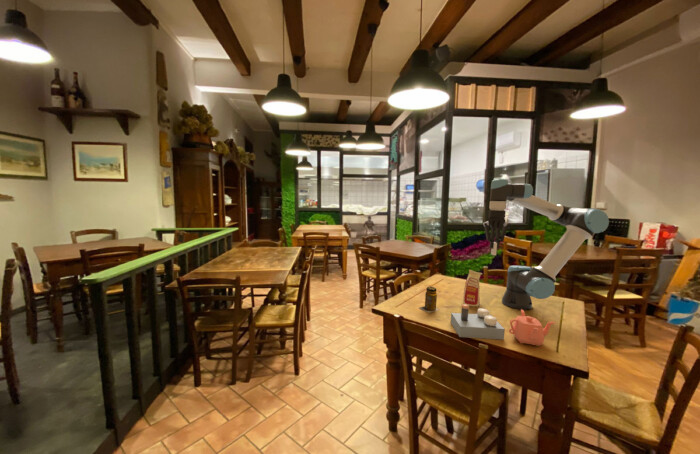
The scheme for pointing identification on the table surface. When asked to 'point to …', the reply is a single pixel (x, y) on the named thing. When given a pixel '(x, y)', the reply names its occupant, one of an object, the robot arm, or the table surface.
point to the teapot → (529, 329)
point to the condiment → (430, 300)
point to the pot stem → (464, 312)
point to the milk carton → (472, 289)
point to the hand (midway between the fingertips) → (493, 254)
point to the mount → (476, 327)
